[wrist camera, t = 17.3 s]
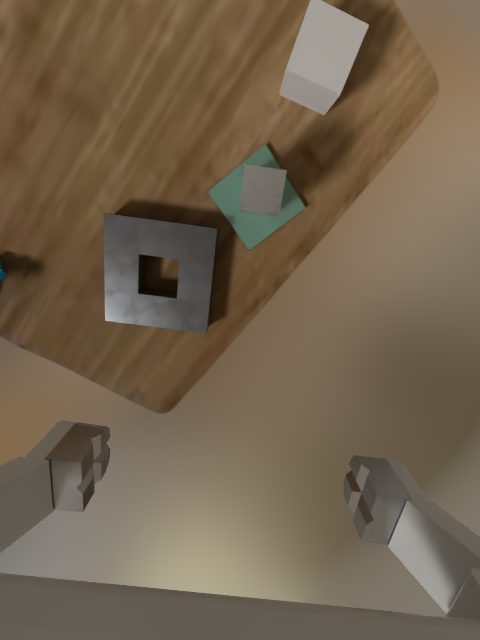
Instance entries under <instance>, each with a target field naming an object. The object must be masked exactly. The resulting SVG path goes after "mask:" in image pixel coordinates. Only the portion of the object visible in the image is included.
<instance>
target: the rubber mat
mask: <svg viewBox="0 0 480 640" xmlns="http://www.w3.org/2000/svg"><path fill="white" fill-rule="evenodd" d="M244 164H246V165H253V166H260V167H267V168H274V169H281V168H280V166H279V165H278V163H277V161H276V160H275V158H274V157H273V155H272V153H271V152H270V150H269V149H268V147H267V146H266V144H265V145H264V146H263V147H261V148H260V149H259V150H258V151H257V152H255V153H254V154H253V155H252V156H251V157H249V158H248V159H247V160H246V161H245V162H243V163H242V164H241V165H240V166H239V167H237V168H236V169H235V170H234V171H233V172H231V173H230V174H229V175H228V176H226V177H225V178H224V179H223V180H222V181H220V182H219V183H218V184H217V185H216V186H214V187H213V188H212V189H211V190H210V191H208V193H209V195H210V196H211V197H212V199H213V200H214V202H215V203H216V204H217V206H218V207H219V209H220V210H221V211H222V213H223V214H224V216H225V217H226V218H227V220H228V221H229V223H230V224H231V225H232V227H233V228H234V230H235V231H236V232H237V234H238V235H239V237H240V238H241V239H242V241H243V242H244V244H245V245H246V246H247V248H248V249H249V250H250V249H251V248H253V247H254V246H255V245H257V244H258V243H259V242H261V241H262V240H263V239H265V238H266V237H267V236H269V235H270V234H271V233H273V232H274V231H275V230H277V229H278V228H279V227H281V226H282V225H283V224H285V223H286V222H287V221H289V220H290V219H291V218H293V217H294V216H295V215H297V214H298V213H299V212H301V211H302V210H303V209H305V206H304V204H303V203H302V201H301V200H300V198H299V196H298V195H297V193H296V192H295V190H294V188H293V187H292V185H291V184H290V182H289V180H288V179H287V177H286V178H285V184H284V191H283V197H282V203H281V209H280V215H279V216H275V217H271V218H269V217H262V216H255V215H247V214H240V212H239V206H240V197H241V189H242V181H243V173H244ZM281 170H282V169H281Z"/></svg>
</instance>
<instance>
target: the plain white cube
mask: <svg viewBox="0 0 480 640" xmlns="http://www.w3.org/2000/svg"><path fill="white" fill-rule="evenodd" d="M368 26H369V24H367V23H365V22H363V21H361V20H359V19H357V18H355V17H353V16H351V15H349V14H347V13H345V12H343V11H341V10H339V9H337V8H335V7H333V6H331V5H329V4H327V3H325V2H323V1H321V0H310V3H309V6H308V9H307V12H306V14H305V17H304V20H303V23H302V26H301V29H300V31H299V34H298V37H297V40H296V43H295V45H294V48H293V51H292V54H291V57H290V60H289V62H288V65H287V68H286V71H285V75H284V78H283V82H282V85H281V89H280V92H279V95H281V96H283V97H286V98H288V99H290V100H292V101H294V102H296V103H299V104H301V105H303V106H305V107H307V108H309V109H312V110H314V111H316V112H318V113H320V114H322V115H325V114H326V113H327V112H328V110H329V109H330V108H331V106H332V105H333V104H334V102H335V101H336V100H337V98H338V97H339V96H340V94H341V92H342V89H343V87H344V85H345V82H346V80H347V77H348V75H349V72H350V70H351V68H352V65H353V63H354V60H355V58H356V55H357V53H358V51H359V48H360V46H361V43H362V41H363V38H364V36H365V34H366V31H367V29H368Z"/></svg>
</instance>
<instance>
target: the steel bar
mask: <svg viewBox="0 0 480 640" xmlns="http://www.w3.org/2000/svg"><path fill="white" fill-rule="evenodd" d="M286 172H287V170H281V169H274V168H267V167H260V166H253V165H246V164H244V173H243V181H242V189H241V197H240V206H239V212H240V214H247V215H255V216H262V217H269V218H271V217H275V216H279V215H280V209H281V203H282V197H283V191H284V184H285V178H286Z"/></svg>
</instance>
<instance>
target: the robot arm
mask: <svg viewBox="0 0 480 640" xmlns="http://www.w3.org/2000/svg"><path fill="white" fill-rule="evenodd" d="M109 438H110V429H109V428H108V427H106V426H99V425H92V424H85V423H75V422H68V421H61V422H58V423H57V424H56V425H55V426H54V427H53V428H52V429H51V430H50V431H49V432H48V433H47V434H46V436H45V437H44V438H43V439H42V440H41V441H40V442H39V443H38V444H37V445H36V446H35V447H34V448H33V449H32V450H31V451H30V453H28V455H27V456H26V457H18V458H16V459H14V460H12V461H10V462H8V463H5V464H3V465H1V466H0V552H2V551H3V550H4V549H6V548H7V547H8V546H9V545H11V544H12V543H13V542H15V541H16V540H17V539H19V538H20V537H21V536H22V535H24V534H25V533H26V532H28V531H29V530H30V529H31V528H32V527H34V526H35V525H37V524H38V523H39V522H40V521H42V520H43V519H44V518H45V517H47V516H48V515H49V514H51V513H52V512H53V510H66V511H79V512H83V511H84V510H85V508H86V506H87V504H88V503H89V500H90V499H91V497H92V495H93V494H94V484H95V483H97V482H98V481H100V480H101V479H102V477H103V476H104V474H105V472H106V469H107V466H108V463H109V457H110V448H109V446H108V445H107V444H106V443H107V441H108V440H109ZM349 466H350V468H351V471H350V472H349V473H347V474H346V476H345V479H344V497H345V501H346V504H347V506H348V507H349V508H350V509H351V510H352V511H353V512H354V513H355V514H354V517H353V523H354V525H355V528H356V530H357V533H358V536H359V538H360V541H363V542H370V543H378V544H384V545H389V546H388V547H389V548H390V549H391V550H392V551H393V553H394V554H395V555H396V556H397V557H398V558H399V560H400V561H401V562H402V563H403V564H404V565H405V567H406V568H407V569H408V570H409V571H410V572H411V573H412V575H413V576H414V577H415V578H416V579H417V580H418V581H419V583H420V584H421V585H422V586H423V587H424V588H425V590H426V591H427V592H428V593H429V594H430V595H431V596H432V598H433V599H434V600H435V601H436V602H437V603H438V604H439V606H440V607H441V608H442V609H443V610H444V611H445V613H446V616H445V617H443V616H433V615H423V614H413V613H402V612H392V611H381V610H372V609H361V608H351V607H340V606H330V605H320V604H309V603H299V602H288V601H277V600H268V599H258V598H247V597H238V596H228V595H218V594H206V593H197V592H187V591H177V590H167V589H157V588H147V587H137V586H126V585H116V584H106V583H96V582H86V581H76V580H65V579H55V578H45V577H35V576H24V575H14V574H4V573H0V640H480V537H479V536H478V535H476V534H475V533H474V532H472V531H471V530H470V529H468V528H467V527H466V526H464V525H463V524H461V523H460V522H459V521H457V520H456V519H455V518H453V517H452V516H451V515H449V514H448V513H447V512H446V511H444V510H443V509H442V508H440V507H439V506H438V505H436V504H435V503H432V502H428V500H427V499H426V497H425V496H424V494H423V493H422V491H421V490H420V488H419V487H418V485H417V484H416V482H415V481H414V480H413V478H412V476H411V475H410V473H409V472H408V471H407V469H406V468H405V466H404V465H403V463H402V462H401V461H399V460H398V459H388V458H375V457H366V456H356V455H353V457H352V458H351V460H350V463H349Z"/></svg>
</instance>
